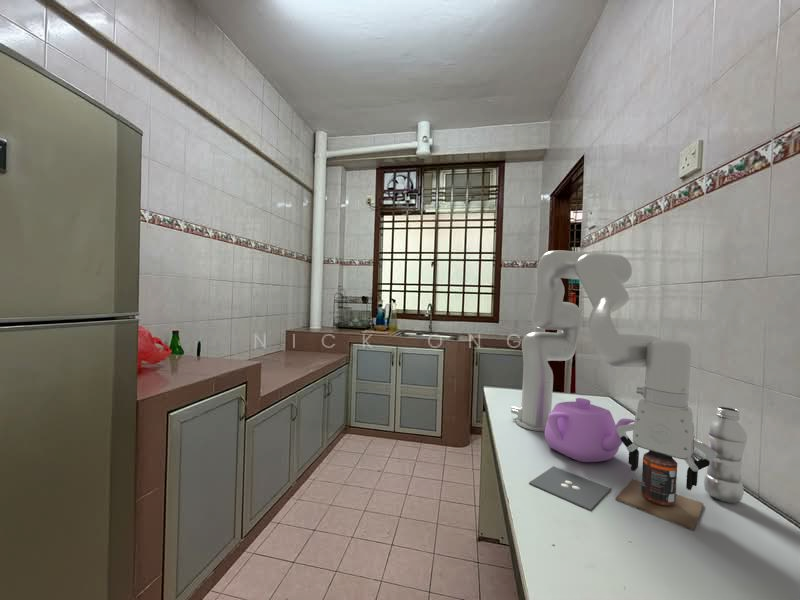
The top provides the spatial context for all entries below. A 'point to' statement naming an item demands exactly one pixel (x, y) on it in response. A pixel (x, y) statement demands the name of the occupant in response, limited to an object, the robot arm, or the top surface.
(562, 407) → the teapot
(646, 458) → the supplement bottle
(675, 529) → the top surface
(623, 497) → the walnut board
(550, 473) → the dot mat
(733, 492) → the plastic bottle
